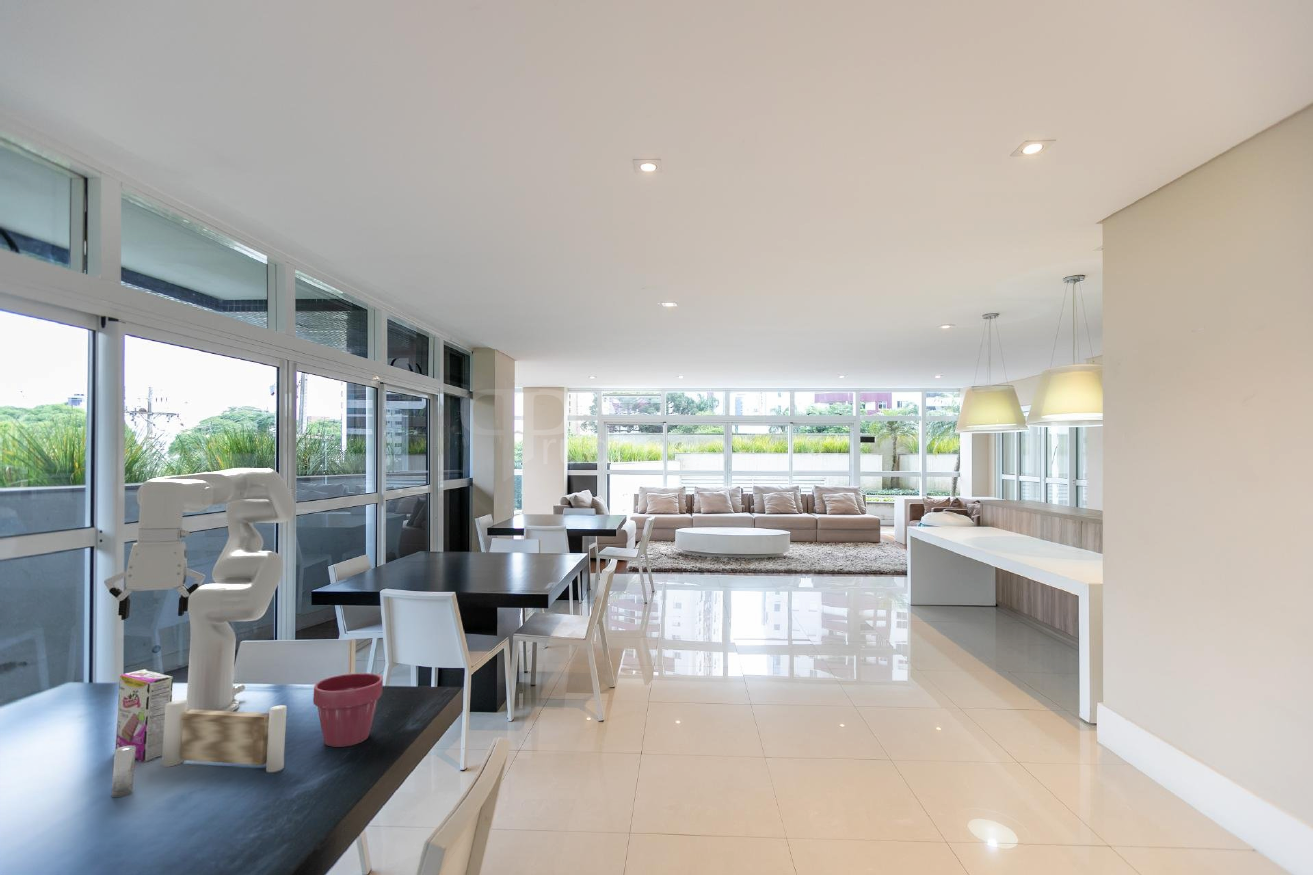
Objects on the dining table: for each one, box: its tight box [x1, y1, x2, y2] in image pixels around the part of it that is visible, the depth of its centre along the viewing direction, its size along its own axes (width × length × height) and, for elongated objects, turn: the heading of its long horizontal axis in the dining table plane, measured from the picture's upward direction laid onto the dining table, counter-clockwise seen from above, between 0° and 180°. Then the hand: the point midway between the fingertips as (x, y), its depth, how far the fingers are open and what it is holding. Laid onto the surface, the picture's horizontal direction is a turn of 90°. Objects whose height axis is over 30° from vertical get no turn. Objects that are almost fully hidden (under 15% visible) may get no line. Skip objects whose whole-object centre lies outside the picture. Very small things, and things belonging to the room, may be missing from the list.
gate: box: [180, 709, 269, 766], centre depth 130 cm, size 18×2×9 cm, turn 84°
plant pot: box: [312, 672, 384, 748], centre depth 145 cm, size 14×14×13 cm
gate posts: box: [161, 699, 288, 773], centre depth 130 cm, size 4×26×12 cm, turn 84°
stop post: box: [111, 745, 136, 798], centre depth 118 cm, size 3×3×8 cm
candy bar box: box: [114, 668, 174, 763], centre depth 136 cm, size 11×5×16 cm, turn 65°
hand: (153, 616), depth 137 cm, fingers open, 9 cm apart
